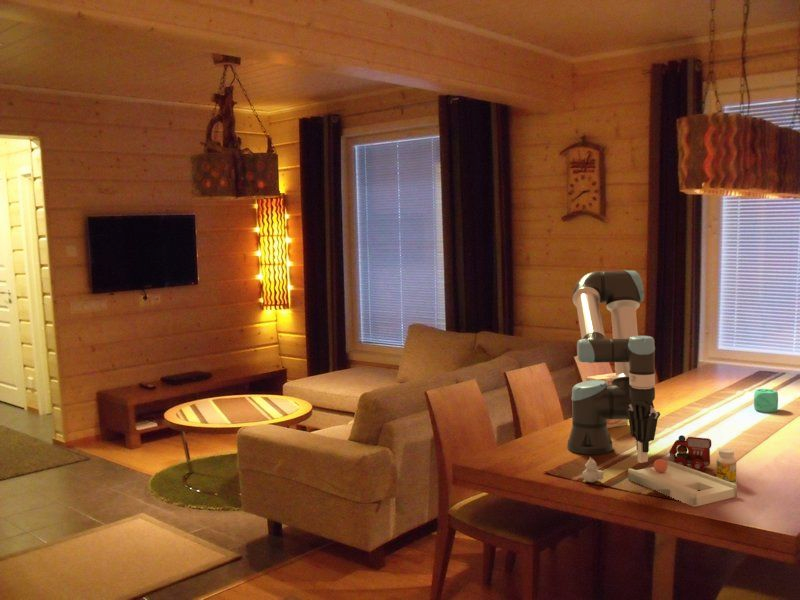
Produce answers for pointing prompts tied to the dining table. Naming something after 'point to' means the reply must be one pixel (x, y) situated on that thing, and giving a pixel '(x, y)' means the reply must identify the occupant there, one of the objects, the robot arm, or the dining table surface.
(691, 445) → the toy fire truck
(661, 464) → the ball
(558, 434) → the dining table surface
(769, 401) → the decorative dice
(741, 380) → the dining table surface
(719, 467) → the supplement bottle
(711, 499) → the board
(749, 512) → the dining table surface
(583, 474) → the white figurine
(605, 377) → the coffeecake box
